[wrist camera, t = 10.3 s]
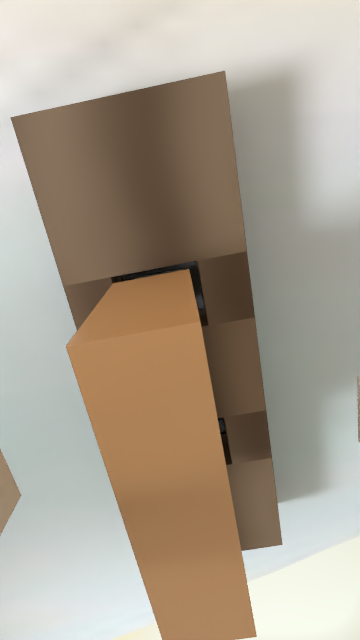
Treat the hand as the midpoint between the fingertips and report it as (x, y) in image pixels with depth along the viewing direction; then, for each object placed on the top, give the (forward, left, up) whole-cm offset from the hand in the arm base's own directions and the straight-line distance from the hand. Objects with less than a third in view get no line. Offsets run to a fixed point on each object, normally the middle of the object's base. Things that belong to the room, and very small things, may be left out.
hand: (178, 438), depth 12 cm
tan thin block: (0, 0, -7) cm, 7 cm away
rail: (0, 0, -7) cm, 7 cm away
